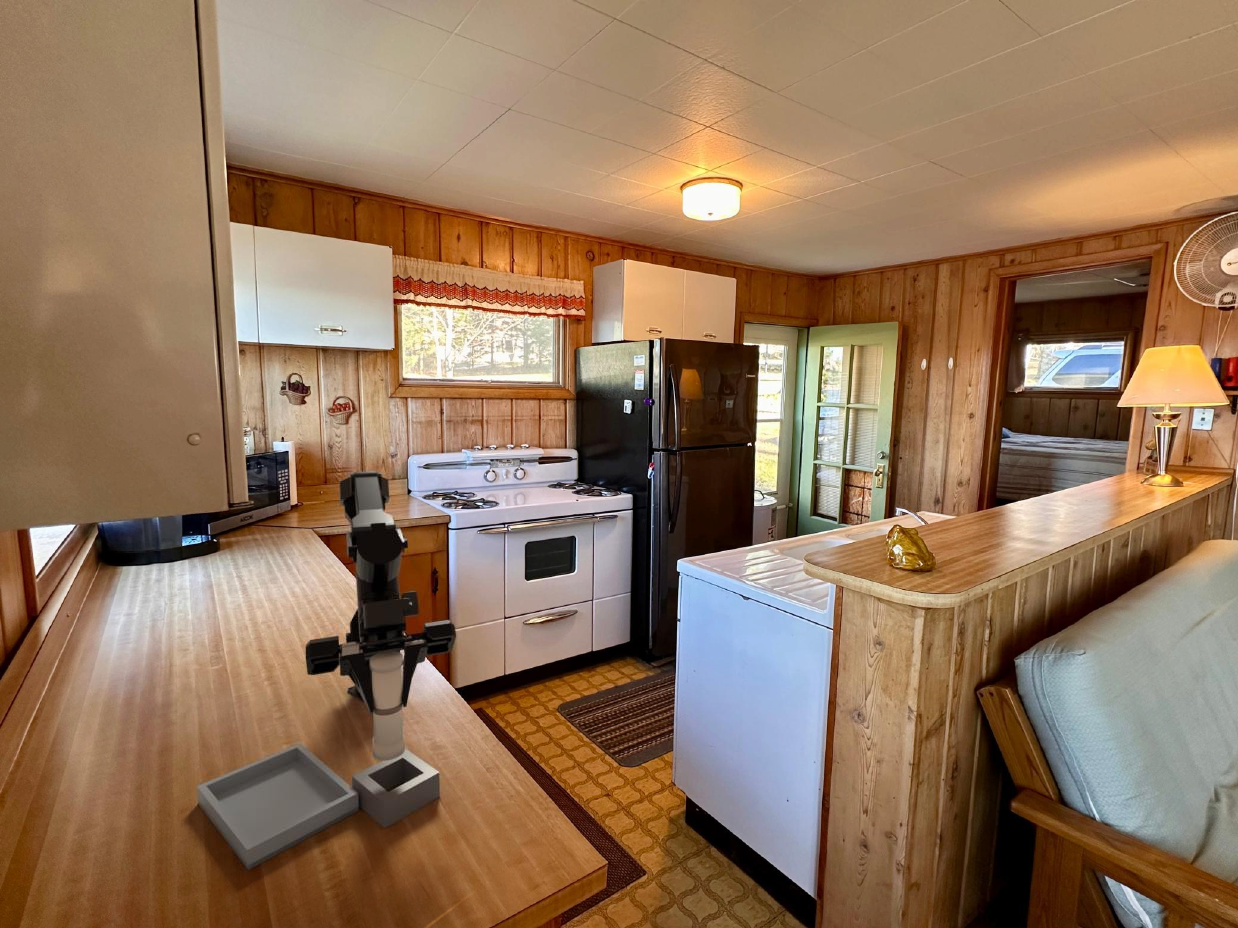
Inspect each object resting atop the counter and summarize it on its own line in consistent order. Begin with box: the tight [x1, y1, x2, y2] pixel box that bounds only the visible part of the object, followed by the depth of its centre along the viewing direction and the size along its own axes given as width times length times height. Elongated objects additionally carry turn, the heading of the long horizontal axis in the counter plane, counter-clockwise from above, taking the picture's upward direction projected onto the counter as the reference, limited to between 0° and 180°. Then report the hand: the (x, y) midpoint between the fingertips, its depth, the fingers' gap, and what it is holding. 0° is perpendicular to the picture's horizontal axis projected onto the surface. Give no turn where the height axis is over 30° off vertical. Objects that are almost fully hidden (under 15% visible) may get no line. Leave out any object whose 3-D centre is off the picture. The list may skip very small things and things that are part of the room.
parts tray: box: [196, 742, 360, 871], centre depth 79 cm, size 17×13×2 cm
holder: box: [351, 748, 441, 829], centre depth 81 cm, size 8×8×4 cm
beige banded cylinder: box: [370, 651, 406, 761], centre depth 80 cm, size 4×4×13 cm
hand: (388, 709), depth 78 cm, fingers closed on beige banded cylinder, 4 cm apart
